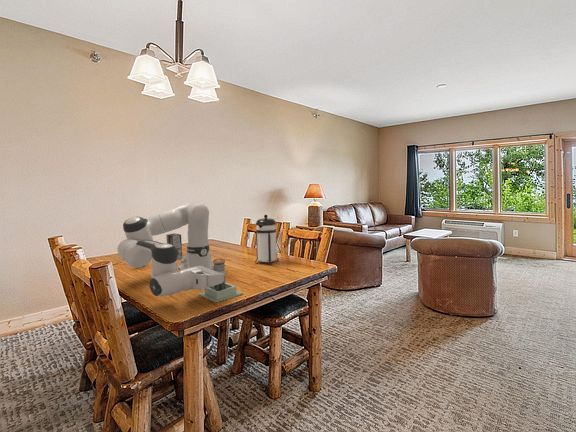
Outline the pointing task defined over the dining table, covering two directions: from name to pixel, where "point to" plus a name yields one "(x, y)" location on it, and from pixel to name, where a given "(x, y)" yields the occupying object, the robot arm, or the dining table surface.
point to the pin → (219, 267)
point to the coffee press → (266, 240)
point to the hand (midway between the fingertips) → (221, 271)
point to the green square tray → (220, 293)
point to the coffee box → (175, 242)
